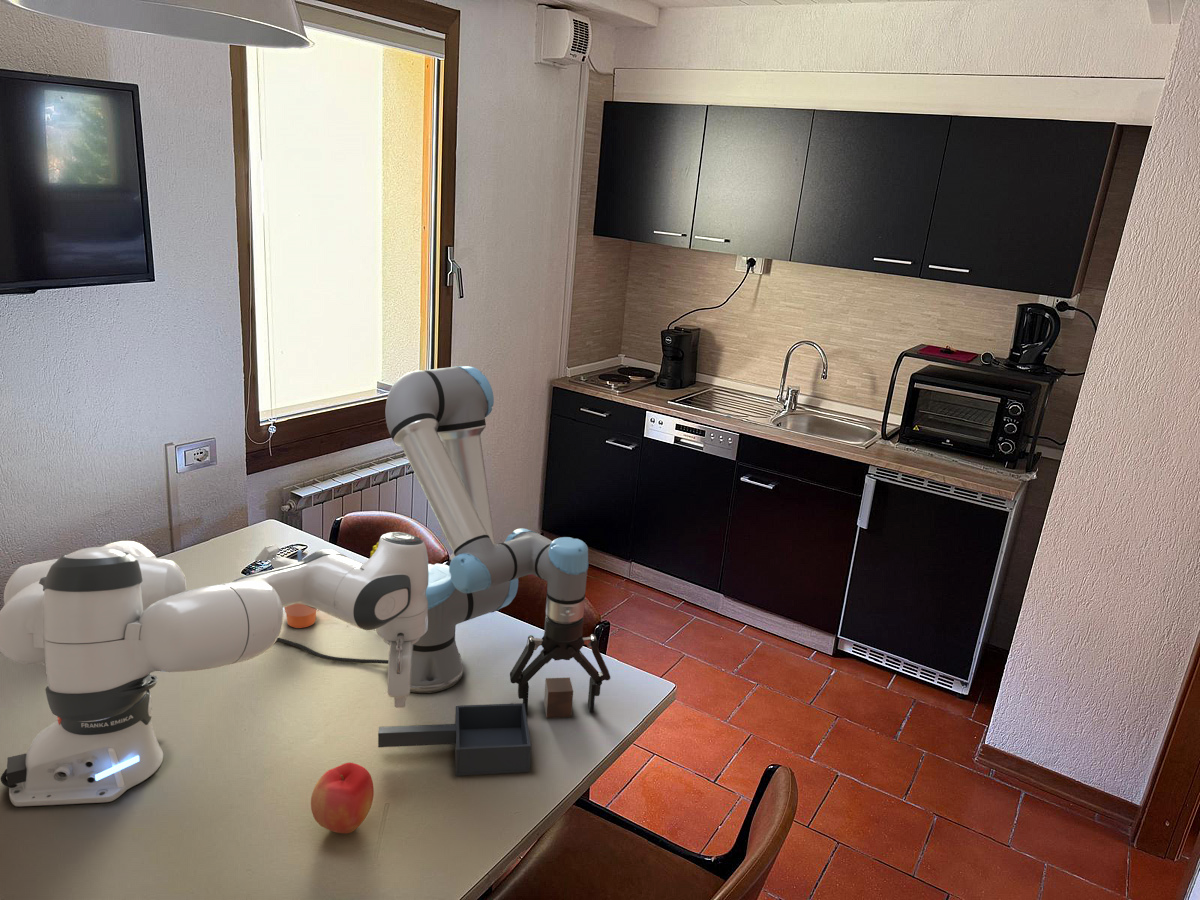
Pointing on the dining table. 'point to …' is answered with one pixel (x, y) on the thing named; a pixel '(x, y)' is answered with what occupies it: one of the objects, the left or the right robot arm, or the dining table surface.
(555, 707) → the walnut block
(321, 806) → the apple
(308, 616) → the cup with straw
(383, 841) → the dining table surface
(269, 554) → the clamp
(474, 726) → the scoop
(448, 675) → the right robot arm
